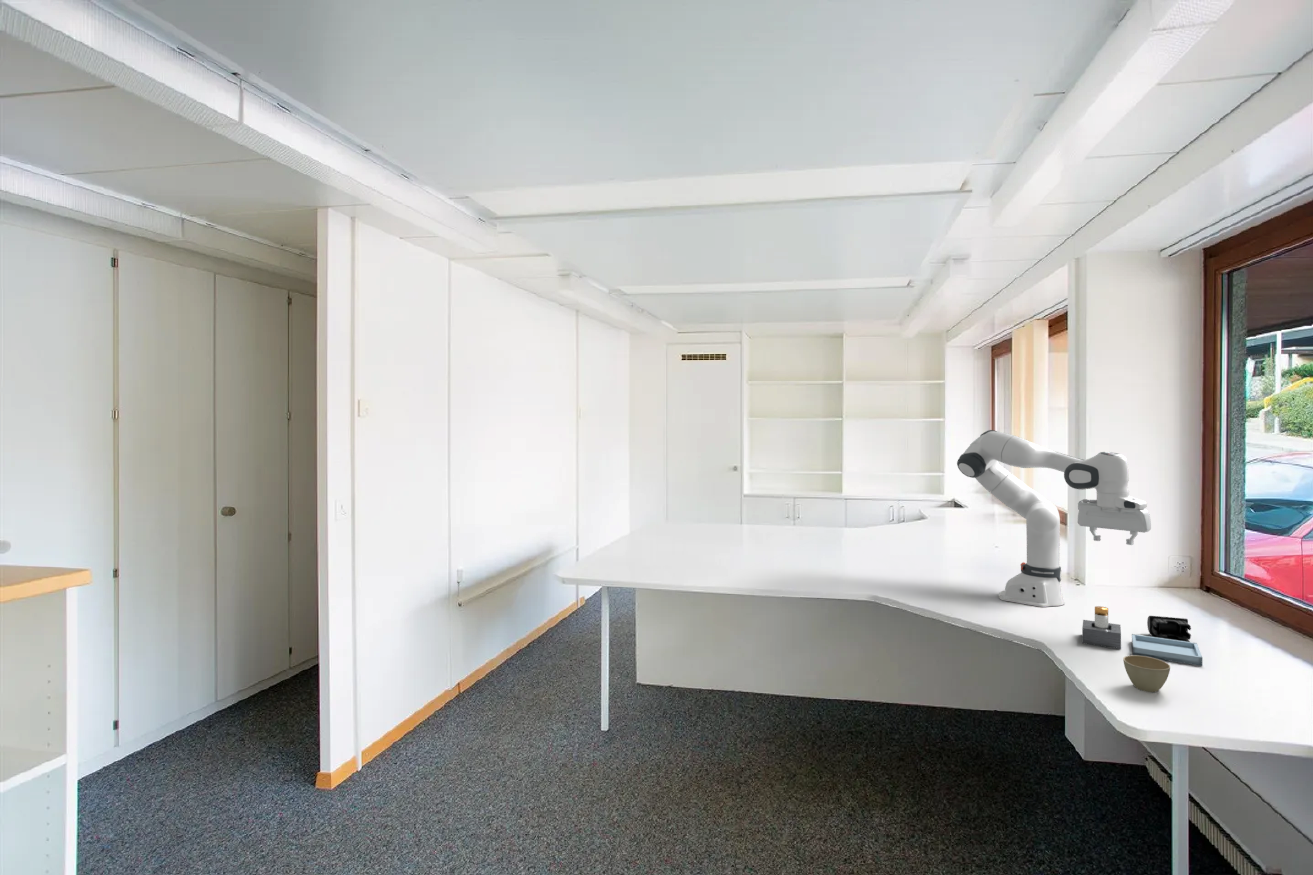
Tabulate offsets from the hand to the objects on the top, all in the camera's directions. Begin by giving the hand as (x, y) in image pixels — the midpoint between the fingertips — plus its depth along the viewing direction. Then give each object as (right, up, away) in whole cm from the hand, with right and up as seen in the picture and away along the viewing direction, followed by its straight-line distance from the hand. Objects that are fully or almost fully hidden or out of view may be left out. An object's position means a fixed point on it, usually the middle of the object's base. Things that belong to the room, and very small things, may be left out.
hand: (1113, 542), depth 213 cm
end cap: (+15, -31, -5) cm, 34 cm away
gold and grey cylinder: (-9, -31, -7) cm, 33 cm away
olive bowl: (-21, -32, -42) cm, 57 cm away
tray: (+3, -31, -18) cm, 36 cm away
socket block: (-9, -31, -7) cm, 33 cm away
